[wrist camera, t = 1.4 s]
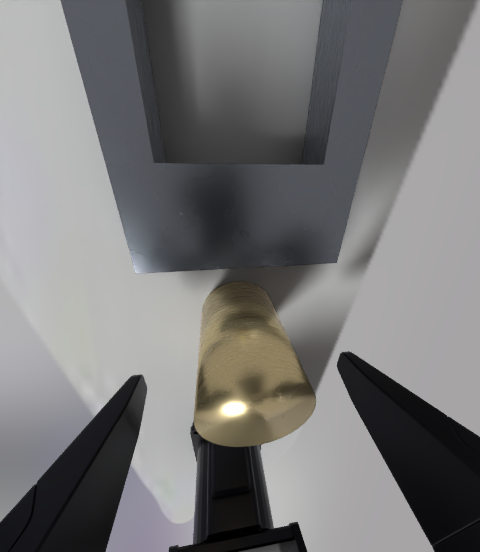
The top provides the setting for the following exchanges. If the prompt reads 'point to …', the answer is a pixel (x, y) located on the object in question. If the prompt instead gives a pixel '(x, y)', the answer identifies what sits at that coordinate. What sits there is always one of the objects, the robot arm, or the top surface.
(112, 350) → the top surface
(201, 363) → the gold rounded cylinder
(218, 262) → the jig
